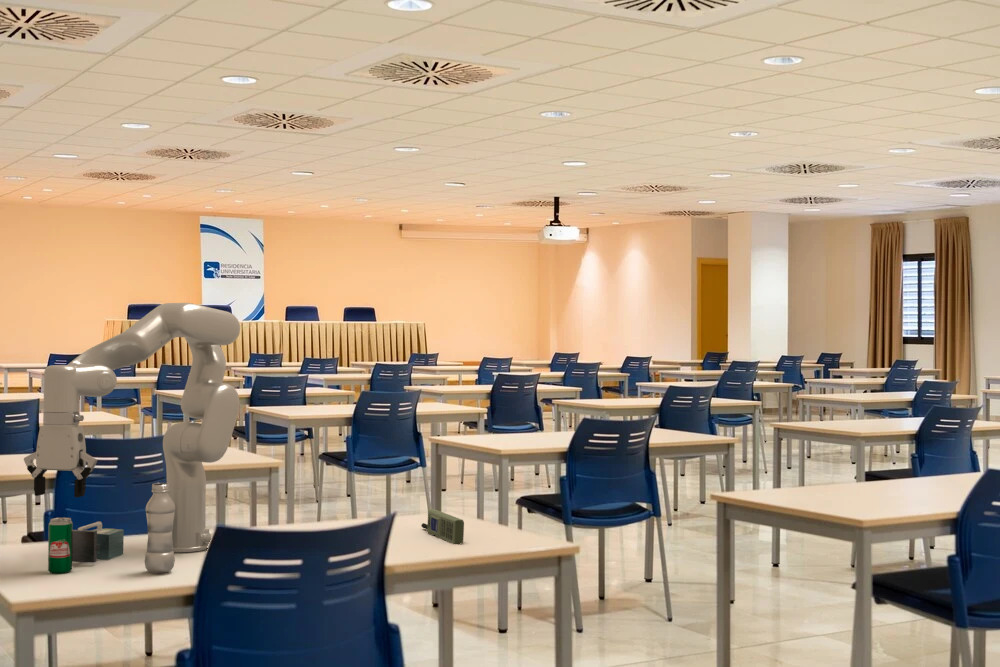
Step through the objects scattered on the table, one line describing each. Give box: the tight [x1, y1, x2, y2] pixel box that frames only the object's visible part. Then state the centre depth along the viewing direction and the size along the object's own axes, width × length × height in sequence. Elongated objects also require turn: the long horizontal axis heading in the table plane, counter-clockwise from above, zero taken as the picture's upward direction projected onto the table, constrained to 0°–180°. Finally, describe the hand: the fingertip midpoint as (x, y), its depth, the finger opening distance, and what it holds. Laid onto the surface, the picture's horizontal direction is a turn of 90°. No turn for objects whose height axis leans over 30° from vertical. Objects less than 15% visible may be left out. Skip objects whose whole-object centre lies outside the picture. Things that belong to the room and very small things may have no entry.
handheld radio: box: [421, 508, 465, 545], centre depth 300 cm, size 7×3×25 cm
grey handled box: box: [72, 521, 103, 564], centre depth 263 cm, size 10×8×8 cm
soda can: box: [47, 517, 74, 575], centre depth 251 cm, size 5×5×12 cm
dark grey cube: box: [90, 528, 125, 561], centre depth 269 cm, size 7×7×6 cm
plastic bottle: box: [144, 482, 176, 574], centre depth 251 cm, size 6×7×20 cm
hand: (59, 495), depth 251 cm, fingers open, 9 cm apart
